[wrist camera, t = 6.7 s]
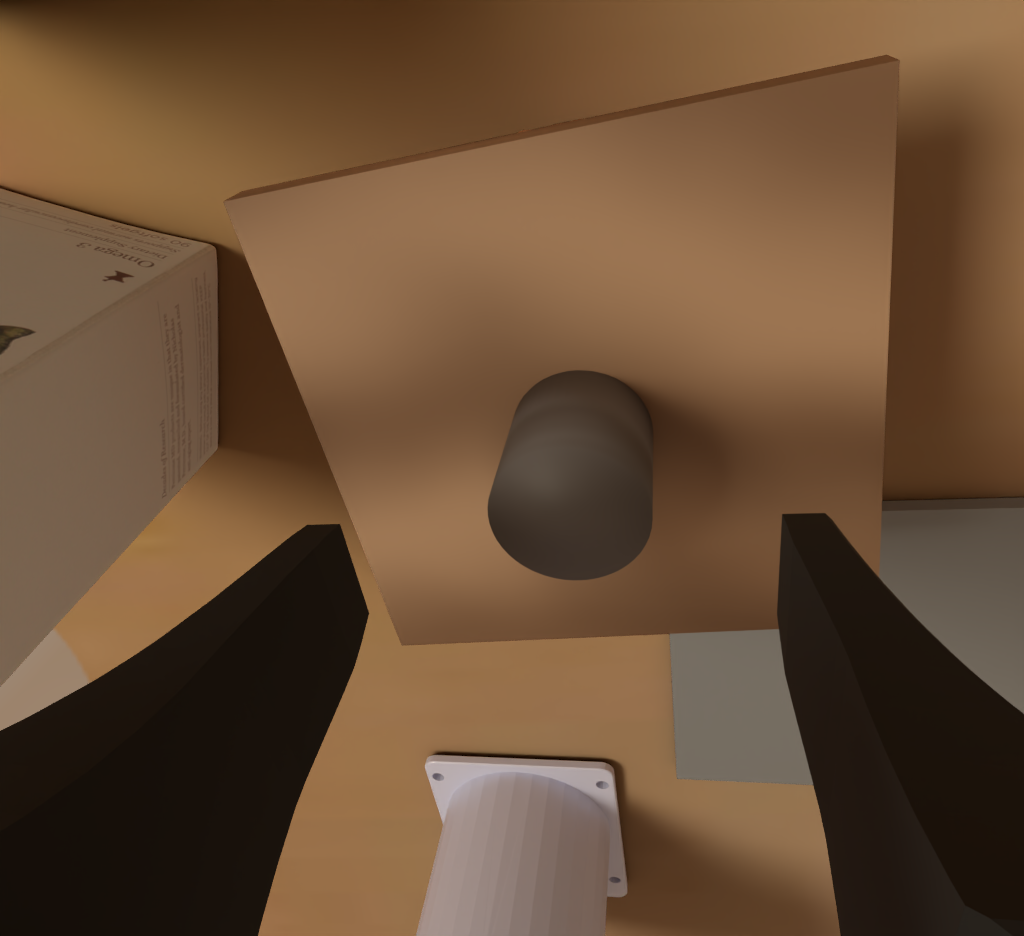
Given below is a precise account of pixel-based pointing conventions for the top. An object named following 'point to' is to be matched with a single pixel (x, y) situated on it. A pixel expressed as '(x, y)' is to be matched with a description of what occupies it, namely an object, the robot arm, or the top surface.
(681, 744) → the slate mat
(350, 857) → the top surface
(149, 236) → the supplement box
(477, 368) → the walnut cover
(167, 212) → the top surface
